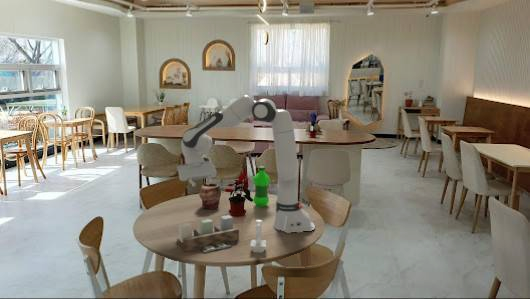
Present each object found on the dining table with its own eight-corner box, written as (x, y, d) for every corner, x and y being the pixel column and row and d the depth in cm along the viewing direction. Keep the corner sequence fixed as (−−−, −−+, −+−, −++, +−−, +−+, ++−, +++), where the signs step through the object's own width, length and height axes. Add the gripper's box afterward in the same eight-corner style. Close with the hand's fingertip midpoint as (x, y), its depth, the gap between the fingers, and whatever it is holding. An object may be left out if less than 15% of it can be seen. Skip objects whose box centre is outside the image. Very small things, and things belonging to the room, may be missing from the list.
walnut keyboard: (228, 231, 210) (228, 221, 208) (244, 244, 194) (244, 233, 193) (176, 241, 196) (176, 231, 195) (189, 256, 180) (189, 245, 179)
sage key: (209, 233, 202) (209, 218, 200) (212, 236, 198) (212, 221, 197) (200, 235, 199) (200, 220, 198) (203, 238, 196) (203, 223, 194)
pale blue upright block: (229, 229, 207) (229, 215, 206) (232, 232, 204) (232, 217, 202) (220, 231, 205) (220, 216, 203) (223, 234, 201) (223, 219, 200)
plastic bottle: (249, 206, 249) (250, 167, 245) (259, 201, 258) (260, 164, 253) (262, 209, 244) (263, 169, 239) (272, 205, 252) (273, 166, 247)
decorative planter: (209, 200, 260) (209, 179, 257) (226, 202, 256) (226, 181, 253) (195, 209, 241) (194, 187, 238) (213, 212, 237) (213, 189, 235)
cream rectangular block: (188, 237, 196) (188, 222, 195) (191, 240, 193) (191, 225, 191) (179, 239, 194) (178, 224, 192) (181, 242, 190) (181, 227, 189)
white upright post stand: (266, 246, 193) (266, 216, 190) (265, 255, 183) (266, 224, 180) (251, 245, 193) (251, 216, 190) (250, 254, 183) (250, 224, 180)
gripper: (177, 161, 209) (183, 184, 203) (213, 158, 219) (220, 179, 213) (174, 168, 214) (181, 190, 207) (210, 164, 224) (217, 185, 217)
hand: (201, 185), depth 210 cm, fingers open, 6 cm apart
